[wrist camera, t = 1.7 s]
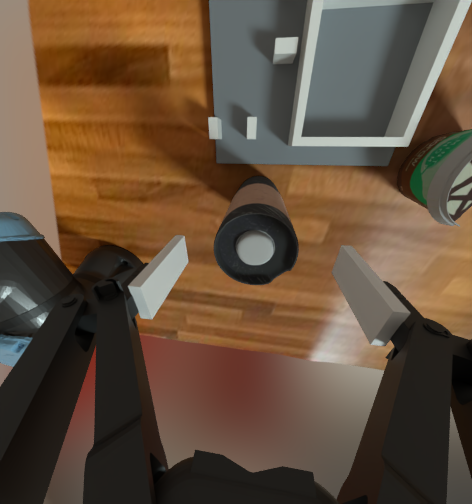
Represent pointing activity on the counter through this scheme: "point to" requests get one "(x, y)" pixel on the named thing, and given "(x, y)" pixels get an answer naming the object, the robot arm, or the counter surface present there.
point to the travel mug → (256, 235)
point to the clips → (282, 55)
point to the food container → (440, 176)
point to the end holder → (415, 85)
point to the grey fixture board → (322, 78)
